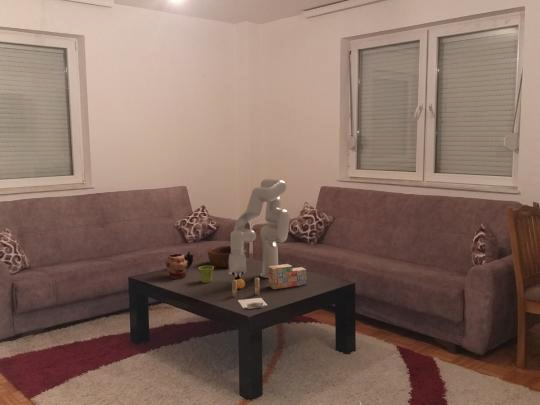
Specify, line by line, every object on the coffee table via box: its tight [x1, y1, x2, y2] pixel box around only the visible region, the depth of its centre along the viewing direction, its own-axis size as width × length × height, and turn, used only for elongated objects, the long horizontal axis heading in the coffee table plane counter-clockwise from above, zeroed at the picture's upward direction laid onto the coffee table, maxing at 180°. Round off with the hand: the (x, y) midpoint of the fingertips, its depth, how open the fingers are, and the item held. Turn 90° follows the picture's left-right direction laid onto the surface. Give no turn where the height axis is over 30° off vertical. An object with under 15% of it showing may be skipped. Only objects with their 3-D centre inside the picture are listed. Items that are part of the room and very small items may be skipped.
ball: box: [237, 278, 246, 290], centre depth 317 cm, size 6×6×6 cm
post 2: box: [254, 277, 261, 296], centre depth 304 cm, size 3×3×9 cm
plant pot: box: [198, 265, 215, 284], centre depth 332 cm, size 9×9×9 cm
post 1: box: [231, 279, 238, 298], centre depth 301 cm, size 3×3×9 cm
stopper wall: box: [246, 302, 264, 310], centre depth 282 cm, size 8×2×2 cm, turn 106°
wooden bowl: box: [207, 245, 246, 269], centre depth 373 cm, size 25×25×10 cm
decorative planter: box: [165, 253, 188, 279], centre depth 344 cm, size 20×12×14 cm, turn 40°
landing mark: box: [237, 297, 268, 309], centre depth 290 cm, size 13×13×1 cm
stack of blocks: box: [268, 263, 308, 290], centre depth 321 cm, size 21×6×12 cm, turn 113°
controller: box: [183, 251, 194, 269], centre depth 366 cm, size 4×12×10 cm, turn 133°
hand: (237, 283), depth 321 cm, fingers closed
